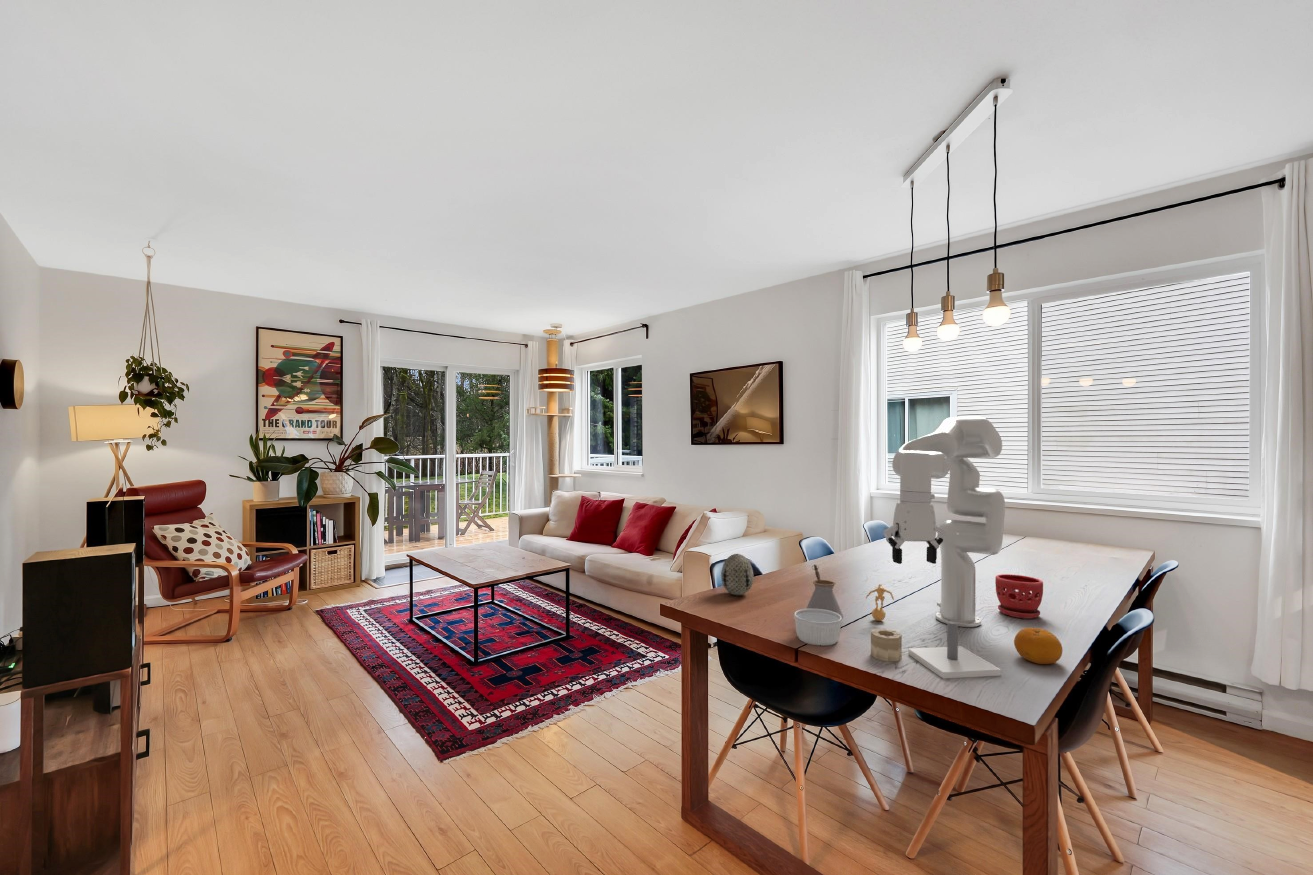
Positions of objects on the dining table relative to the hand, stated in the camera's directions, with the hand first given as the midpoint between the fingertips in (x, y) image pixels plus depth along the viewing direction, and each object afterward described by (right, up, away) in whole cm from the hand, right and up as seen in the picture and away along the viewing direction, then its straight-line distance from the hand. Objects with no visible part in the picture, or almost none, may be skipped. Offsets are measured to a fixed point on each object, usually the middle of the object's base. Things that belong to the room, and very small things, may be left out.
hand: (914, 562), depth 148 cm
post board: (+7, -25, -6) cm, 26 cm away
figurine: (+1, -25, +27) cm, 37 cm away
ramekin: (-22, -25, +12) cm, 35 cm away
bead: (-8, -25, 0) cm, 26 cm away
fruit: (+31, -25, -3) cm, 40 cm away
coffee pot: (-16, -25, +30) cm, 42 cm away
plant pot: (+50, -25, +34) cm, 65 cm away
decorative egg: (-39, -25, +56) cm, 73 cm away
